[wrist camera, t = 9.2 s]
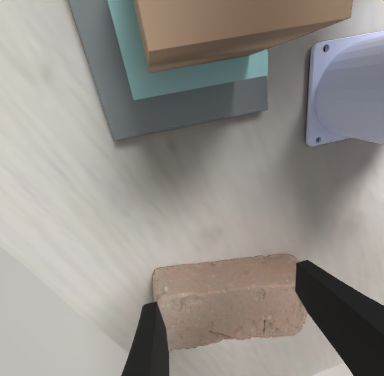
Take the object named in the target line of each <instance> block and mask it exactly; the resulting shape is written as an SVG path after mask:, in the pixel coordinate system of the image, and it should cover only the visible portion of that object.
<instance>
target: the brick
mask: <svg viewBox="0 0 384 376" xmlns="http://www.w3.org/2000/svg"><path fill="white" fill-rule="evenodd" d="M298 262H300V261H299V260H297V259H296V258H295V257H294V256H292V255H286V254H280V255H270V256H267V257H263V256H256V257H247V258H236V259H231V260H222V261H216V262H214V261H213V262H204V263H198V264H183V265H177V266H171V267H162V268H157V269H155V270H154V274H153V279H152V282H153V283H152V286H153V302H156V301H157V303H158V306H159V309H160V312H161V315H162V318H163V321H164V324H165V327H166V332H167V341H168V350H169V351H172V350H173V349H181V348H185V349H189V348H196V347H197V346H204V345H208V344H211V343H216V342H220V341H221V340H223V339H237V340H245V339H250V338H251V337H265V338H269V337H278V336H291V335H295V334H297V333H298V332H300V330H301V329H302V327H303V324H305V320H306V317H307V313H308V312H307V311H306V309H305V307H304V306H303V304H302V302H301V301H300V299H299V297H298V295H297V294H296V292H295V281H296V263H298Z"/></svg>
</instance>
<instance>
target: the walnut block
mask: <svg viewBox="0 0 384 376" xmlns="http://www.w3.org/2000/svg"><path fill="white" fill-rule="evenodd" d="M352 1H353V0H133V3H134V8H135V12H136V17H137V21H138V26H139V30H140V35H141V39H142V44H143V48H144V53H145V57H146V61H147V66H148V70H149V73H154V72H160V71H165V70H171V69H177V68H182V67H188V66H194V65H199V64H205V63H211V62H216V61H222V60H228V59H233V58H239V57H245V56H250V55H252V54H255V53H258V52H260V51H263V50H266V49H268V48H271V47H274V46H276V45H279V44H282V43H284V42H287V41H290V40H292V39H295V38H298V37H300V36H303V35H306V34H308V33H311V32H314V31H316V30H319V29H322V28H324V27H327V26H330V25H332V24H335V23H338V22H340V21H343V20H346V19H348V18H351V10H352Z"/></svg>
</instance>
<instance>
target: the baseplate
mask: <svg viewBox="0 0 384 376" xmlns="http://www.w3.org/2000/svg"><path fill="white" fill-rule="evenodd" d="M69 4H70V7H71V10H72V13H73V16H74V19H75V22H76V25H77V28H78V32H79V35H80V38H81V41H82V44H83V47H84V50H85V53H86V56H87V60H88V63H89V66H90V69H91V72H92V75H93V78H94V81H95V84H96V87H97V91H98V94H99V97H100V100H101V103H102V106H103V109H104V112H105V115H106V119H107V122H108V125H109V128H110V131H111V134H112V137H113V140H114V141H115V140H120V139H125V138H130V137H135V136H140V135H145V134H150V133H155V132H160V131H165V130H170V129H175V128H180V127H185V126H190V125H195V124H199V123H204V122H209V121H214V120H219V119H224V118H229V117H234V116H239V115H244V114H249V113H254V112H259V111H264V110H267V76H261V77H256V78H250V79H245V80H240V81H234V82H229V83H224V84H218V85H213V86H208V87H202V88H197V89H192V90H186V91H181V92H176V93H170V94H165V95H159V96H154V97H149V98H143V99H138V100H133V96H132V92H131V88H130V84H129V81H128V77H127V73H126V69H125V65H124V61H123V58H122V54H121V50H120V46H119V42H118V39H117V35H116V31H115V27H114V23H113V19H112V16H111V12H110V8H109V4H108V0H69Z"/></svg>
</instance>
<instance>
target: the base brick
mask: <svg viewBox="0 0 384 376" xmlns="http://www.w3.org/2000/svg"><path fill="white" fill-rule="evenodd" d="M108 4H109V8H110V12H111V16H112V19H113V23H114V27H115V31H116V35H117V39H118V42H119V46H120V50H121V54H122V58H123V61H124V65H125V69H126V73H127V77H128V81H129V84H130V88H131V92H132V96H133V100H138V99H143V98H149V97H154V96H159V95H165V94H170V93H176V92H181V91H186V90H192V89H197V88H202V87H208V86H213V85H218V84H224V83H229V82H234V81H240V80H245V79H250V78H256V77H261V76H267V75H268V49H266V50H263V51H260V52H258V53H255V54H252V55H250V56H245V57H239V58H233V59H228V60H222V61H216V62H211V63H205V64H199V65H194V66H188V67H182V68H177V69H171V70H165V71H160V72H154V73H149V70H148V66H147V61H146V57H145V53H144V48H143V44H142V39H141V35H140V30H139V26H138V21H137V17H136V12H135V8H134V3H133V0H108Z"/></svg>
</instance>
